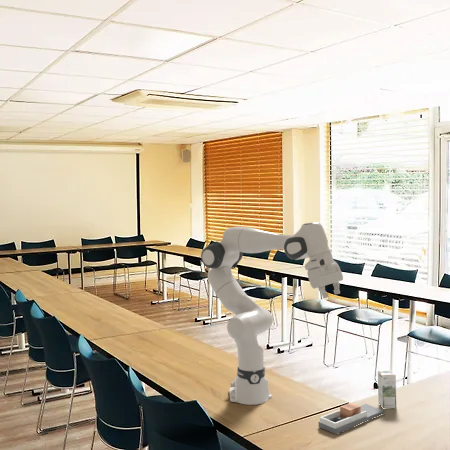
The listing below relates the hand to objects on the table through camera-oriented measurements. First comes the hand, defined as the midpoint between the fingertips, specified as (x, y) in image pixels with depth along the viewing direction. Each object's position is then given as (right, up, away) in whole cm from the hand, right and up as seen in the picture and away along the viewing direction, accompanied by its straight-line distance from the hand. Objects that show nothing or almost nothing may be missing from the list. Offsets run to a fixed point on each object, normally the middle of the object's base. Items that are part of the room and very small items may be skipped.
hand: (331, 295), depth 223 cm
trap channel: (+7, -48, -2) cm, 49 cm away
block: (+7, -46, -3) cm, 47 cm away
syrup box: (+25, -47, +11) cm, 54 cm away
